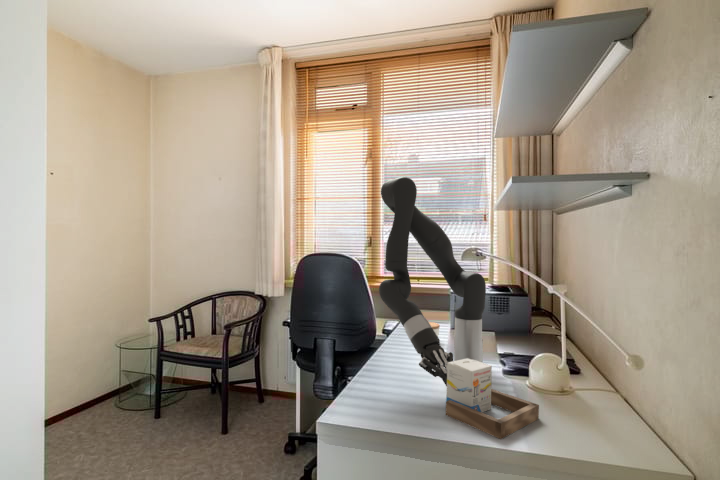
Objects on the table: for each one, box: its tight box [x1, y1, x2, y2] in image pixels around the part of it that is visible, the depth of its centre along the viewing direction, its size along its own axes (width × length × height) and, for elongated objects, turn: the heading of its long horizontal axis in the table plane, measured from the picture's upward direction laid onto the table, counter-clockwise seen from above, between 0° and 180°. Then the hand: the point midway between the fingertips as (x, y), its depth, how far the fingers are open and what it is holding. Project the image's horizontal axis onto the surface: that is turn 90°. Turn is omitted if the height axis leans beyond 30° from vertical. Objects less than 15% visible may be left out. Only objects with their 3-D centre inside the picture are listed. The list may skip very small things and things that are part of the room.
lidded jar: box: [427, 319, 440, 337], centre depth 176 cm, size 11×11×9 cm
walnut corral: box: [445, 388, 540, 440], centre depth 101 cm, size 17×16×4 cm
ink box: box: [445, 358, 493, 413], centre depth 107 cm, size 9×8×12 cm
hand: (453, 387), depth 110 cm, fingers closed
